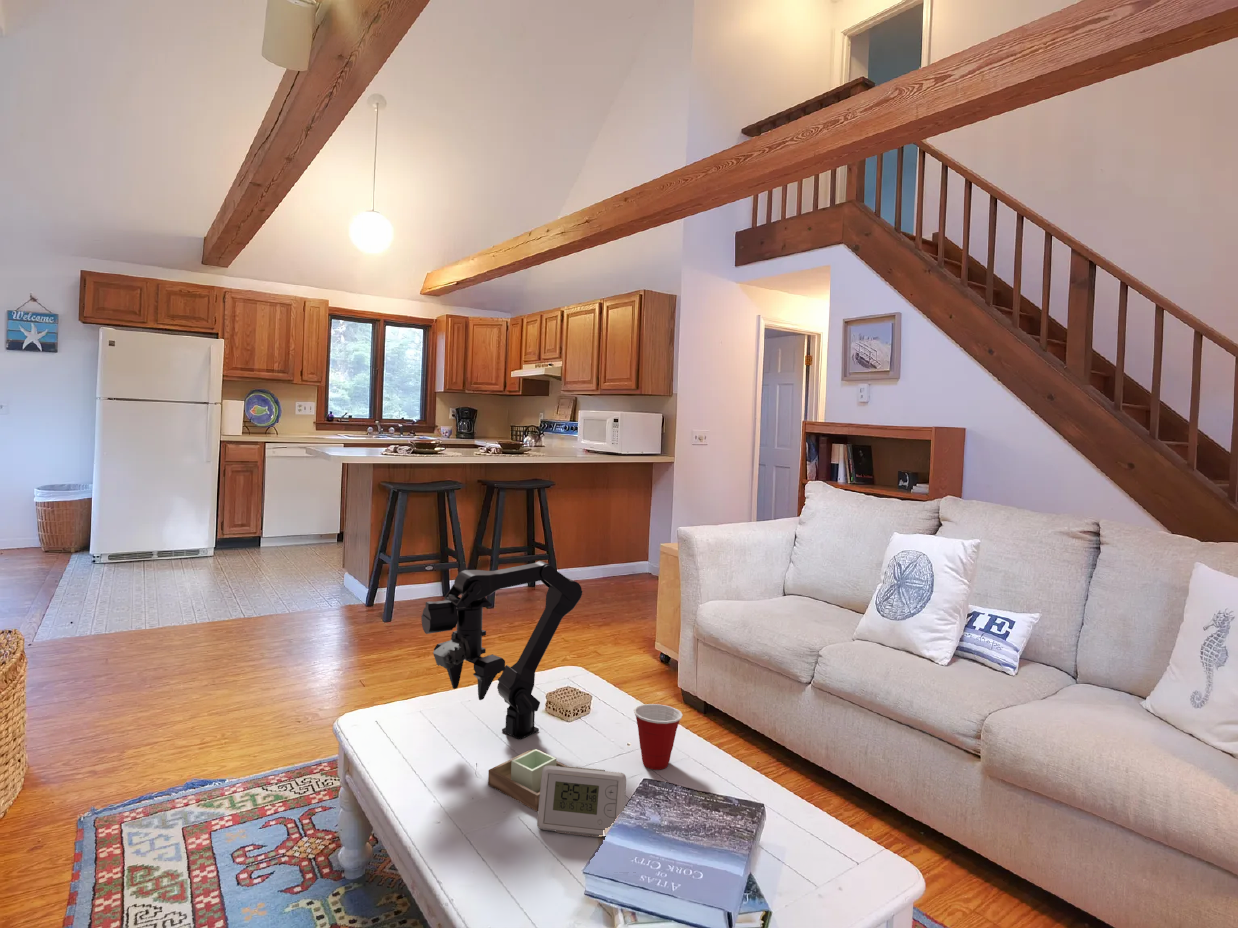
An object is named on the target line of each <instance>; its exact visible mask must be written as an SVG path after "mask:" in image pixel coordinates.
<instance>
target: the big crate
mask: <svg viewBox="0 0 1238 928" xmlns="http://www.w3.org/2000/svg"><path fill="white" fill-rule="evenodd" d="M533 750H534V749H529V750H527V751H525V752H523V753H520V754H519V755H517V756H515V757H512V758H510V759H508V760H507V761H505V762H502V763H500V764H498V765H495V766H494V767H492V768H490V769H488V775H487V778H488V779H487V785H488V786H489V787H491V788H493V789H494V790H496V791H498V792H499V793H501V794H504V795H505V796H508V797H509V798H511V799H513V800H514V801H517V802H518V803H520V804H522V805H524V806H526V807H527V808H529V809H532V810H534V811H535V812H538V808H539V798H540V791H538V792H537V793H536V792H534V791H532V790H530V789H528V788H526V787H525V786H523V785H521V784H519V783H517V782H515V781H513V780H511V761H512V760H514V759H516V758H518V757H521V756H523V755H525V754H527V753H529V752H531V751H533ZM556 766H560V767H565V766H567V764H564V763H562V762H560V761H558V760H556Z"/></svg>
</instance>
